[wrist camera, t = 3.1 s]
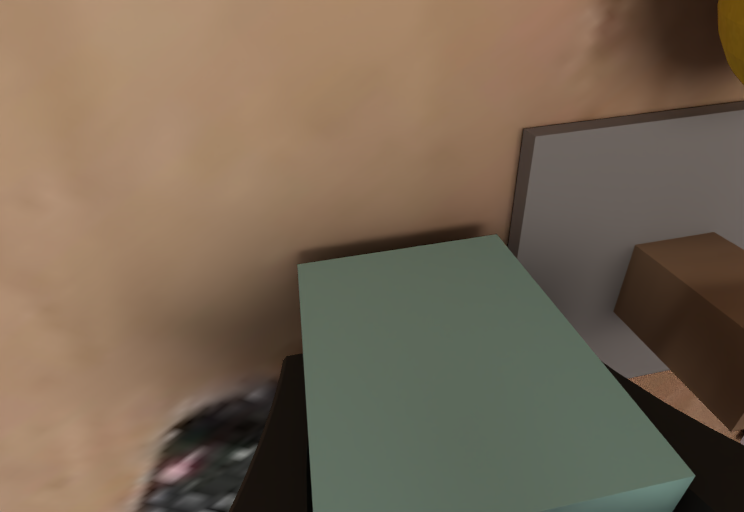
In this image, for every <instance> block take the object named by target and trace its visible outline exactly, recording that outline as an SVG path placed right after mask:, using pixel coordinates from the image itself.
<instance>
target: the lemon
mask: <svg viewBox="0 0 744 512" xmlns="http://www.w3.org/2000/svg"><path fill="white" fill-rule="evenodd" d="M718 32H719V36H720V40H721V43H722V47H723V50H724V53H725V56H726V59H727V62H728V64H729V66H730V68H731V69H732V71H733V73H734V74H735V75H736V76H737V78H738V79H739V80H740V81H741V82H742V84H743V85H744V0H718Z"/></svg>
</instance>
